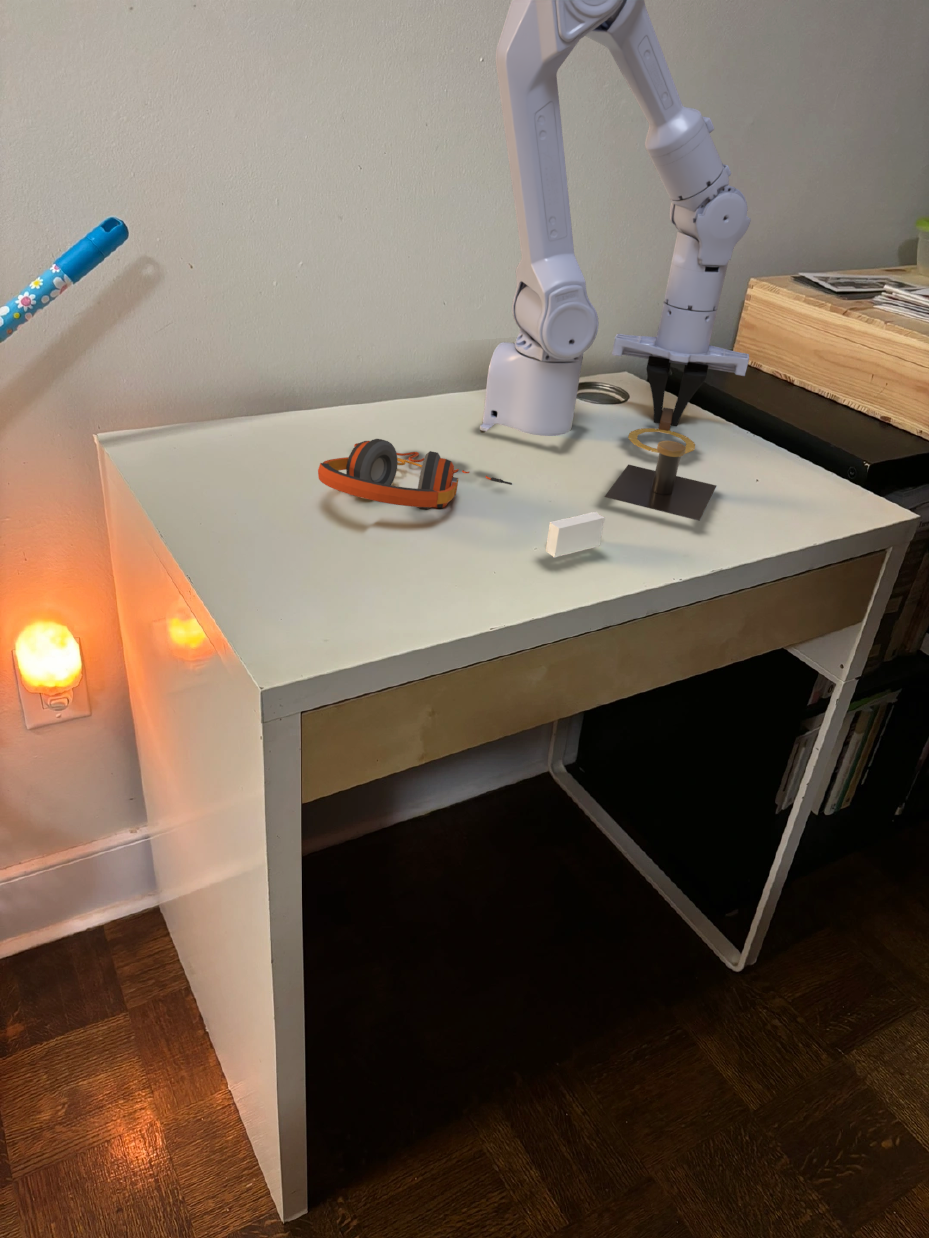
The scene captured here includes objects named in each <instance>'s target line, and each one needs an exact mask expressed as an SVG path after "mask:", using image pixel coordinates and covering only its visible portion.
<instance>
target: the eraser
mask: <svg viewBox="0 0 929 1238" xmlns="http://www.w3.org/2000/svg"><path fill="white" fill-rule="evenodd" d="M605 520H606V517H605V516H603V515H602V514H601V513H598V512H597V511H592V512H587V513H583V514H579V515H573V516H571V517H566V518H562V519H558V520H553V521H549V526H548V532H547V539H546V545H545V552H546V553H548V555H550V556H552V557H553V558H558V557H561V556H566V555H570V554H574V553H577V552H582V551H586V550H590V549H594V548H597V547H598V548H599V547H601V540H602V535H603V530H604V523H605Z"/></svg>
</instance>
